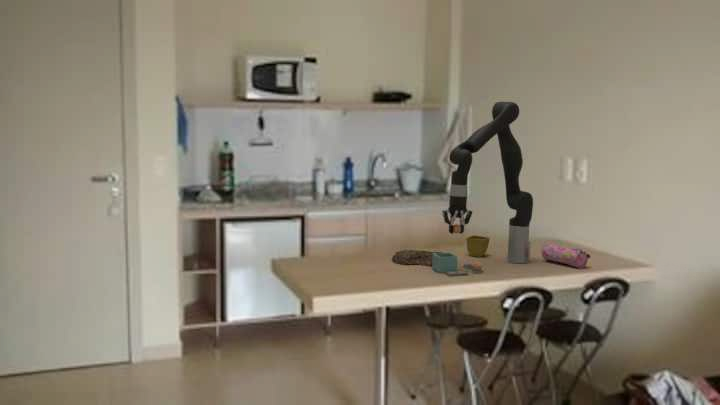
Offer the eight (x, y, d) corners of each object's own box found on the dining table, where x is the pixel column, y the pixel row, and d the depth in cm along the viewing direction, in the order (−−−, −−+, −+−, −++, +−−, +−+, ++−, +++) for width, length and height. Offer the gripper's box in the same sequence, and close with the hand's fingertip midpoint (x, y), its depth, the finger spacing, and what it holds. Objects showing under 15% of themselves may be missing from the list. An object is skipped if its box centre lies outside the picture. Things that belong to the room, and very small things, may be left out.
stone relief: (396, 244, 356) (458, 248, 350) (396, 253, 356) (458, 257, 351) (388, 255, 330) (454, 259, 325) (387, 265, 331) (454, 269, 325)
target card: (463, 272, 317) (463, 270, 317) (468, 275, 313) (468, 272, 312) (444, 273, 315) (444, 271, 315) (449, 276, 310) (449, 274, 310)
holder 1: (470, 266, 329) (470, 264, 329) (474, 268, 325) (474, 265, 325) (463, 267, 328) (463, 264, 328) (466, 268, 324) (466, 266, 324)
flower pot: (489, 255, 354) (490, 237, 353) (482, 258, 347) (482, 239, 345) (472, 253, 359) (473, 235, 357) (465, 256, 351) (465, 237, 350)
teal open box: (449, 268, 325) (449, 252, 324) (456, 272, 317) (457, 256, 316) (432, 269, 323) (432, 253, 322) (439, 273, 315) (439, 257, 314)
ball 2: (479, 269, 320) (480, 260, 320) (483, 271, 317) (484, 262, 316) (471, 269, 319) (471, 260, 319) (475, 271, 316) (475, 262, 315)
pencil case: (590, 267, 332) (591, 248, 330) (577, 270, 326) (578, 250, 325) (552, 259, 349) (553, 240, 347) (539, 261, 343) (540, 242, 342)
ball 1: (458, 232, 323) (459, 223, 323) (462, 234, 319) (462, 225, 319) (450, 232, 322) (450, 223, 322) (453, 234, 318) (454, 225, 318)
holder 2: (479, 271, 320) (479, 268, 320) (483, 273, 317) (483, 270, 317) (471, 271, 319) (471, 269, 319) (475, 273, 316) (475, 270, 316)
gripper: (469, 193, 324) (467, 231, 326) (440, 193, 320) (437, 232, 322) (477, 195, 317) (474, 234, 319) (446, 195, 313) (444, 235, 315)
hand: (456, 233), depth 321 cm, fingers closed on ball 1, 4 cm apart
